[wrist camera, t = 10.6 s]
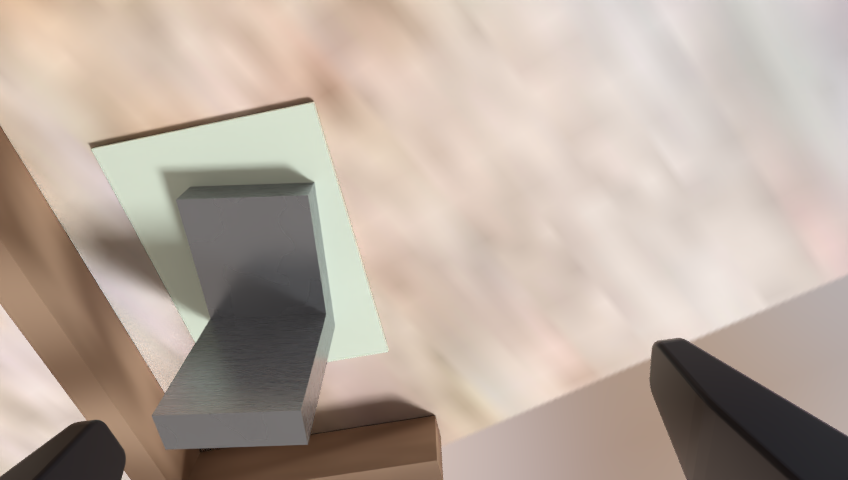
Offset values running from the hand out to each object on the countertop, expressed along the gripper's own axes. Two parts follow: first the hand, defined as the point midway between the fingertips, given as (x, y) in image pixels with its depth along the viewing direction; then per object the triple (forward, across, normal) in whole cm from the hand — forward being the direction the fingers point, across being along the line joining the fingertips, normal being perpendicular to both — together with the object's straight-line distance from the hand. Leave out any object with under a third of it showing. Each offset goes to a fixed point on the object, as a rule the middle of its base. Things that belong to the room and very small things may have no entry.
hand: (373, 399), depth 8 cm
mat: (+11, +6, +3) cm, 13 cm away
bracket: (+11, +6, +3) cm, 13 cm away
